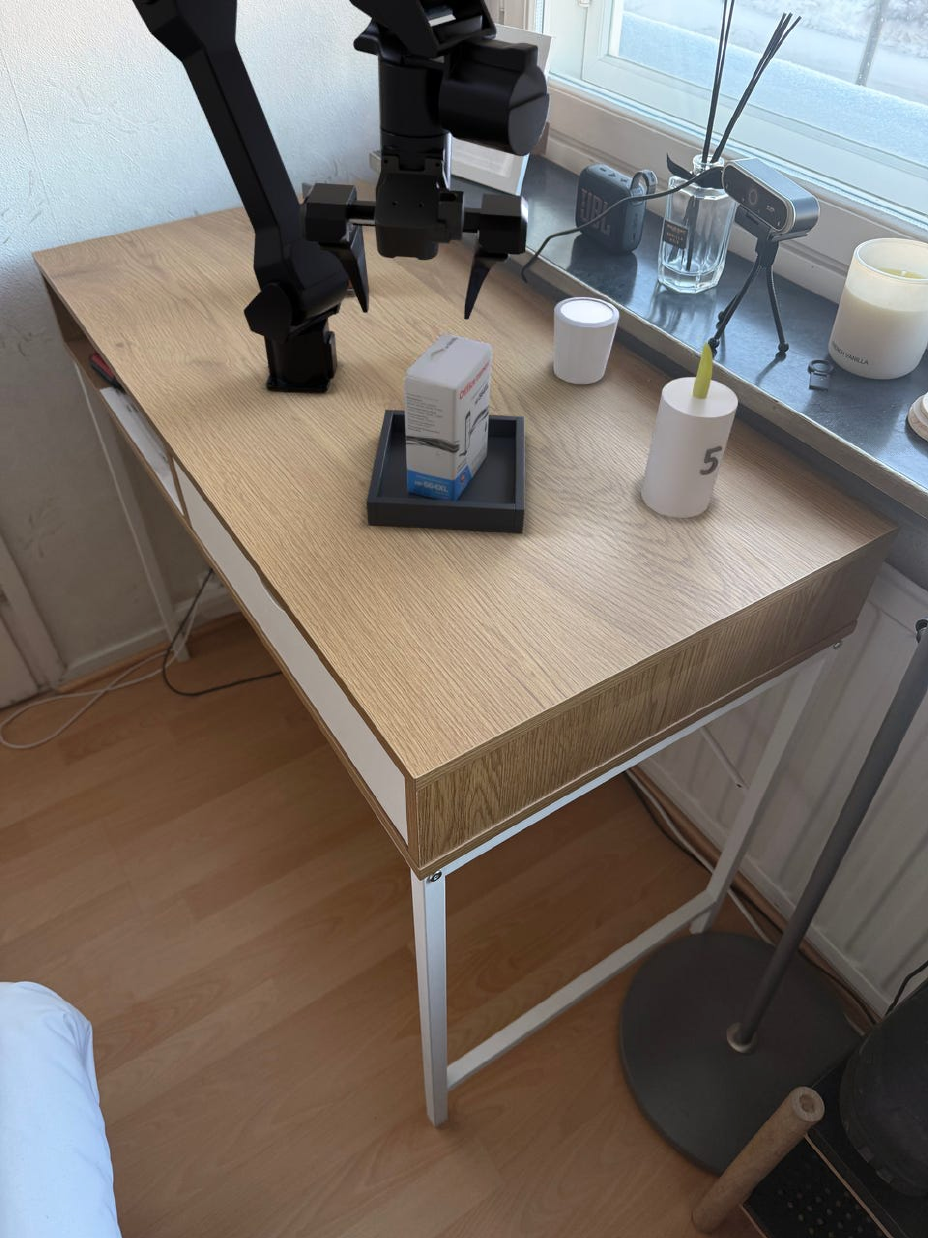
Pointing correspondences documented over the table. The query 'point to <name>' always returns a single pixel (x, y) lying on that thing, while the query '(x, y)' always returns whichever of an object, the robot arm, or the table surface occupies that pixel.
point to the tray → (481, 504)
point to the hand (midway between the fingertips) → (416, 314)
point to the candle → (688, 442)
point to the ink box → (447, 416)
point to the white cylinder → (583, 338)
